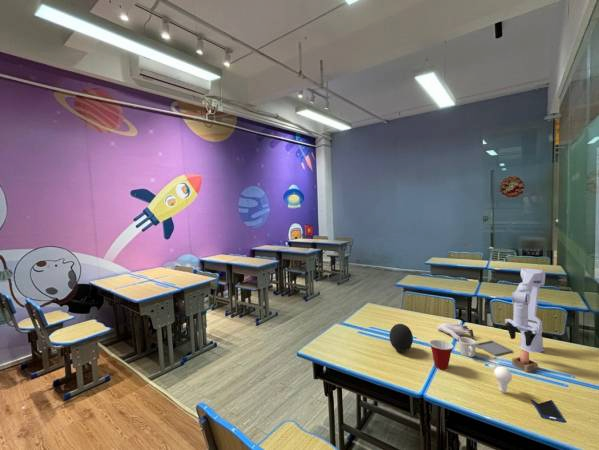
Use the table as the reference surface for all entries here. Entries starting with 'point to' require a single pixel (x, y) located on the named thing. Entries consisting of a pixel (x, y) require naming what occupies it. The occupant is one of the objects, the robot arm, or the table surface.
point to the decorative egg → (401, 337)
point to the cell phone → (549, 411)
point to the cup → (467, 346)
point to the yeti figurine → (455, 330)
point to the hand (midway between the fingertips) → (520, 341)
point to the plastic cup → (441, 353)
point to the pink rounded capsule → (524, 357)
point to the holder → (526, 368)
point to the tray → (493, 348)
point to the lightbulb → (503, 378)
